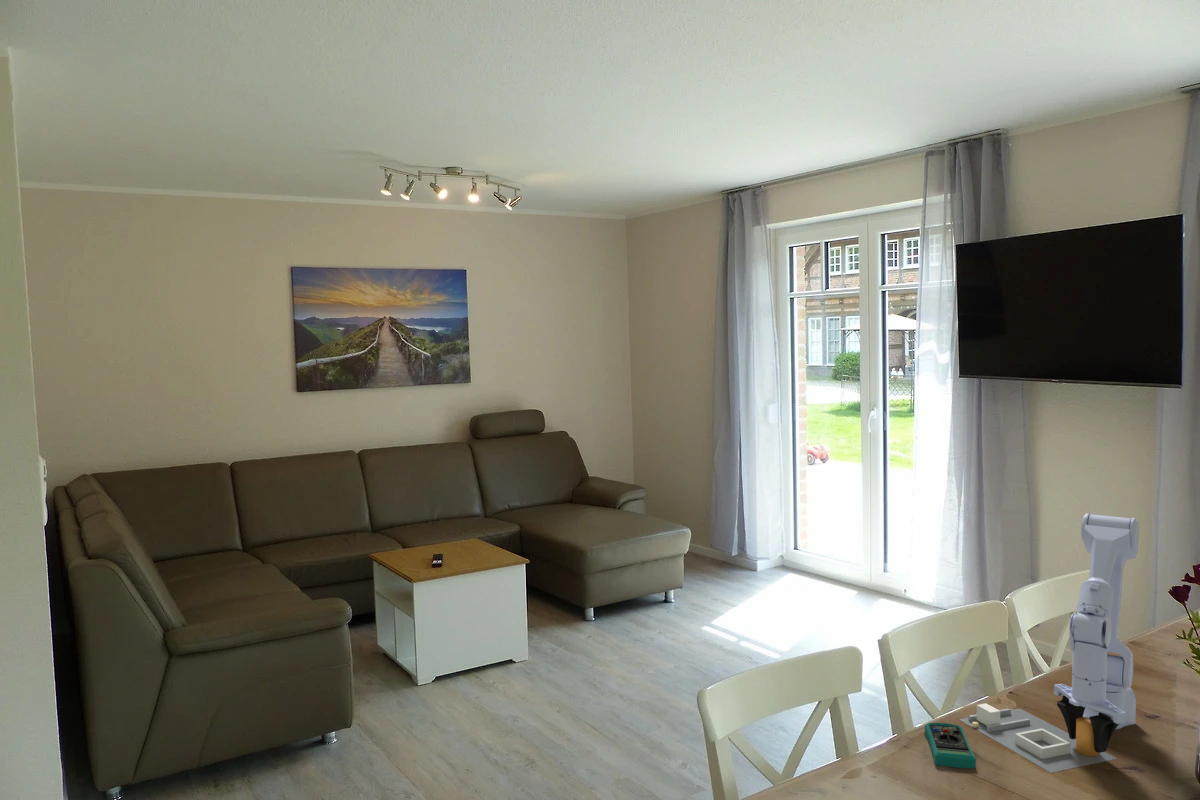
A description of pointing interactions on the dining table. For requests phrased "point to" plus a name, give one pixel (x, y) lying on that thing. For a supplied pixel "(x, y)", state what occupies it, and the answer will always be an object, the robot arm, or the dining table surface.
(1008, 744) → the panel
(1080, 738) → the cap
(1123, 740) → the dining table surface
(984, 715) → the block
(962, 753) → the digital multimeter
